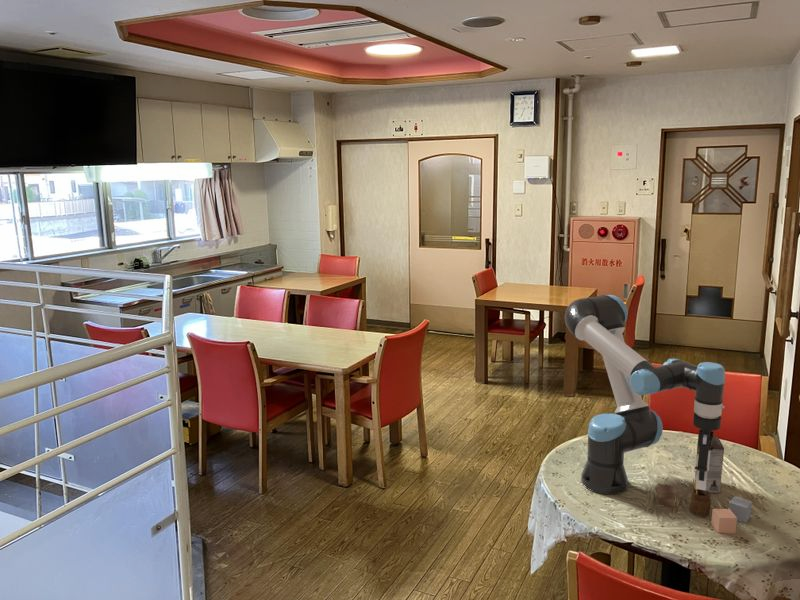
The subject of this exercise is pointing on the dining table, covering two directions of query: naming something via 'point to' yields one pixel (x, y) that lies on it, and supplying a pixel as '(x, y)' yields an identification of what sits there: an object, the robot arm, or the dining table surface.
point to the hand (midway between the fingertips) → (702, 479)
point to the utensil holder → (700, 502)
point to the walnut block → (666, 495)
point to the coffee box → (713, 465)
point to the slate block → (740, 508)
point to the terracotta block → (724, 520)
